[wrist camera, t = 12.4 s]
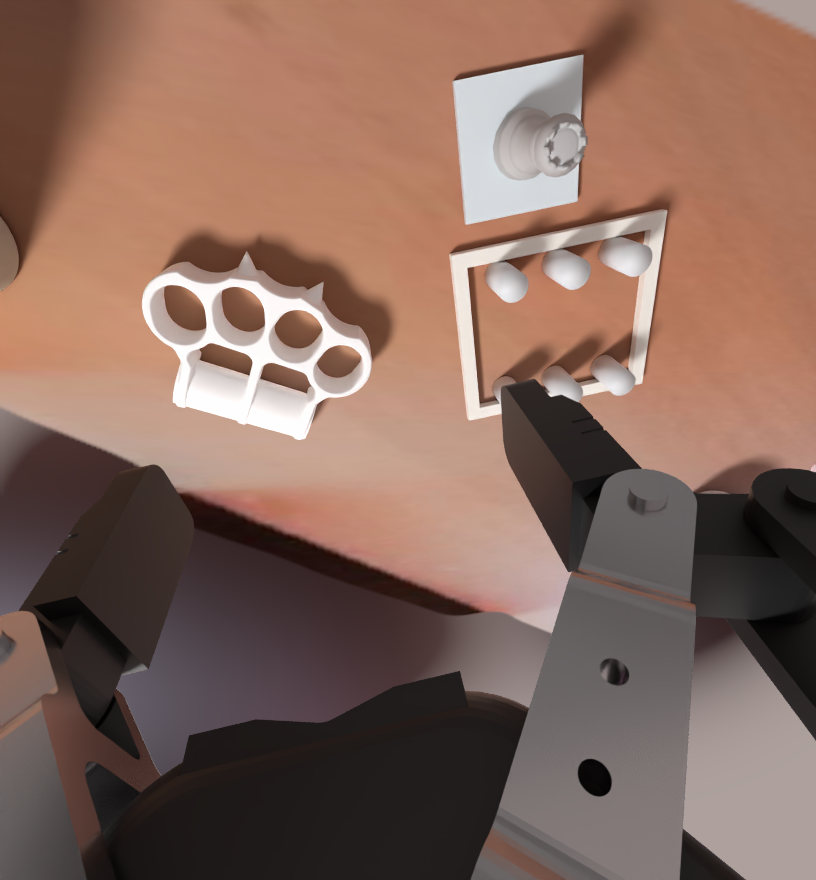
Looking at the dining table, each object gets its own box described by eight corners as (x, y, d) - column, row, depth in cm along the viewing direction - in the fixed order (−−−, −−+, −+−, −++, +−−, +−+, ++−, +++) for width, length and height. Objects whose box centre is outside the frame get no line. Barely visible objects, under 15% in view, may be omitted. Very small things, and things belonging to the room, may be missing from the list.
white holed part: (141, 381, 40) (167, 212, 33) (336, 437, 46) (391, 303, 39) (127, 399, 37) (152, 219, 30) (336, 456, 43) (395, 315, 36)
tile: (464, 223, 36) (466, 224, 35) (452, 81, 31) (453, 80, 30) (574, 200, 36) (577, 201, 36) (580, 55, 31) (583, 54, 31)
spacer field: (467, 416, 46) (477, 437, 43) (449, 253, 37) (460, 264, 34) (637, 379, 46) (660, 398, 43) (661, 209, 37) (693, 215, 34)
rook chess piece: (554, 105, 32) (611, 97, 25) (545, 178, 34) (595, 187, 28) (492, 108, 32) (534, 100, 25) (488, 181, 34) (525, 191, 27)
